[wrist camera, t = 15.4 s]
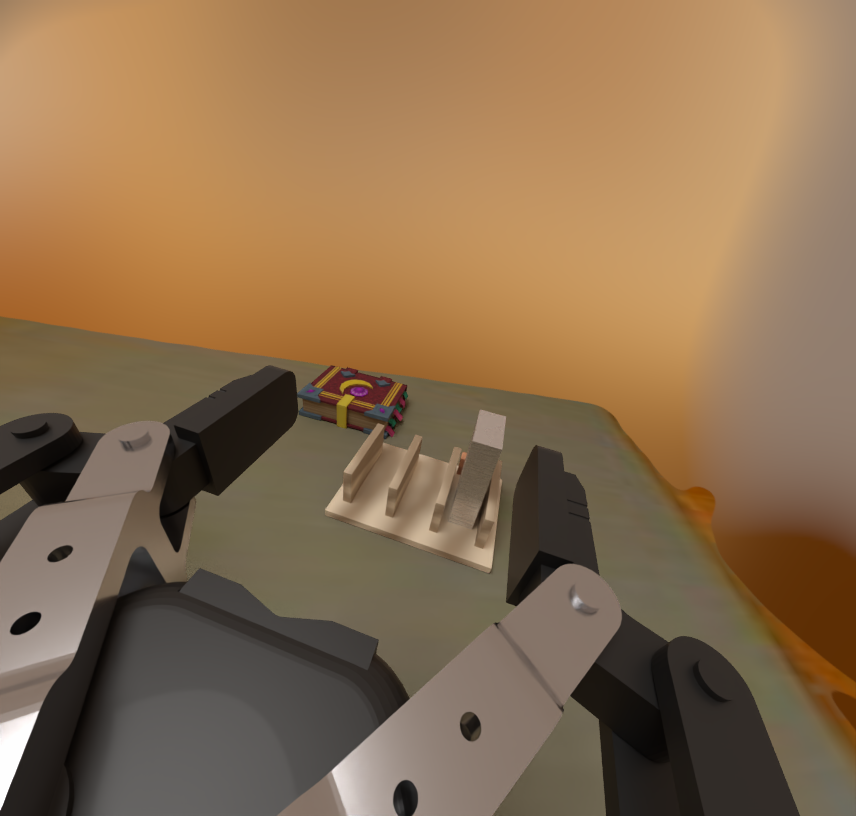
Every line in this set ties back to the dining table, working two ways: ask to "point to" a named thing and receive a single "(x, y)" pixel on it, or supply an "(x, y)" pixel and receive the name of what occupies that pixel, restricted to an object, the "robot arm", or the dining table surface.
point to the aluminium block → (478, 468)
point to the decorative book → (354, 400)
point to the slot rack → (415, 501)
